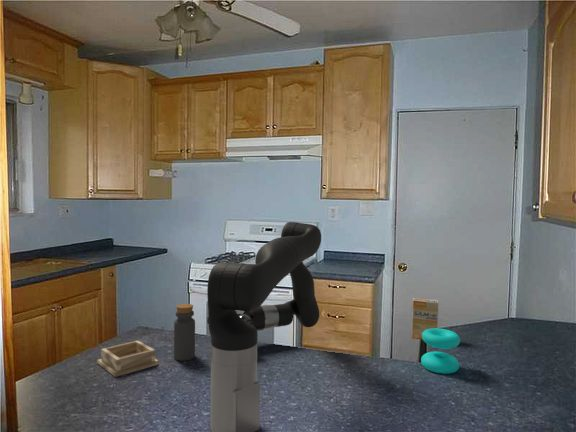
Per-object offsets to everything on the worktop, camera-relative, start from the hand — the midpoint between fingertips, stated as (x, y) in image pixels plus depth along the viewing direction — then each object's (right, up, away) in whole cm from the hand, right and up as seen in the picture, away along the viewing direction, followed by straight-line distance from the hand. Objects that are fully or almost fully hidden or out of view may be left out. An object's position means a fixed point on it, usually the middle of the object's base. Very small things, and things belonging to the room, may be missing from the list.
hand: (212, 324), depth 124 cm
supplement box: (+68, -9, +16) cm, 71 cm away
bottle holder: (-22, -8, -9) cm, 25 cm away
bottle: (-7, -9, -4) cm, 12 cm away
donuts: (+65, -10, -8) cm, 66 cm away
